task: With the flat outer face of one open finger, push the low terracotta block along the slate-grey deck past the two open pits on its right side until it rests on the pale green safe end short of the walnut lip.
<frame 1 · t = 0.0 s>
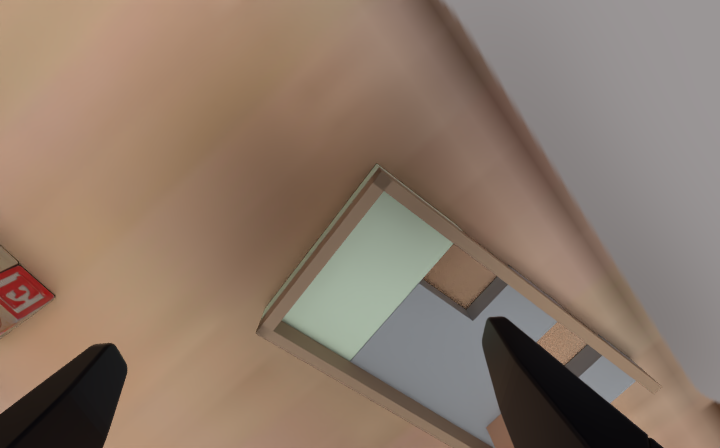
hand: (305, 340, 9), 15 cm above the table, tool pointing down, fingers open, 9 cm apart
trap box: (457, 335, 27), on the table
terracotta block: (534, 423, 28), point 1 cm above the table, touching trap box
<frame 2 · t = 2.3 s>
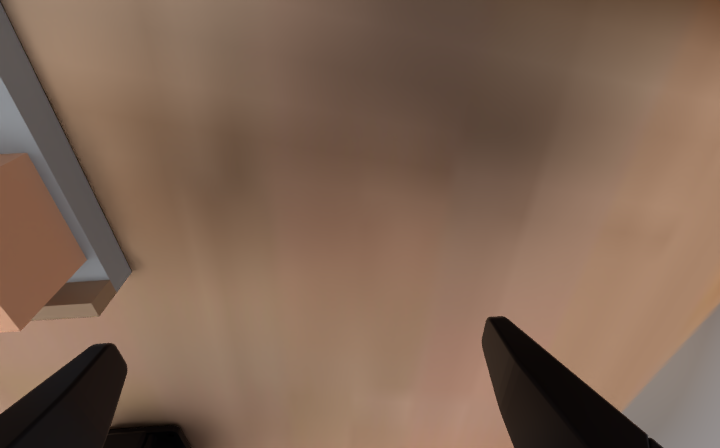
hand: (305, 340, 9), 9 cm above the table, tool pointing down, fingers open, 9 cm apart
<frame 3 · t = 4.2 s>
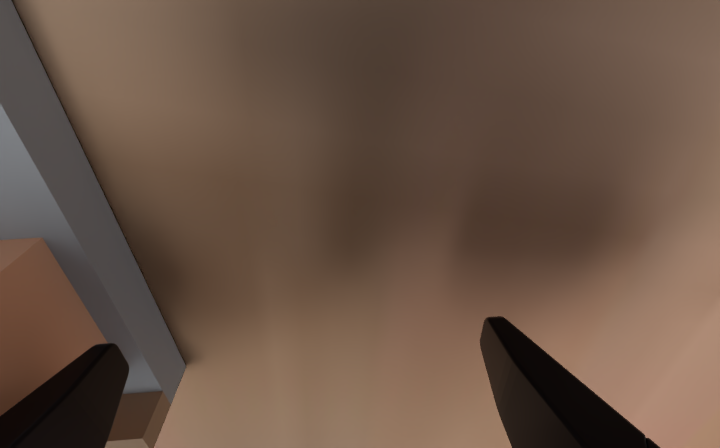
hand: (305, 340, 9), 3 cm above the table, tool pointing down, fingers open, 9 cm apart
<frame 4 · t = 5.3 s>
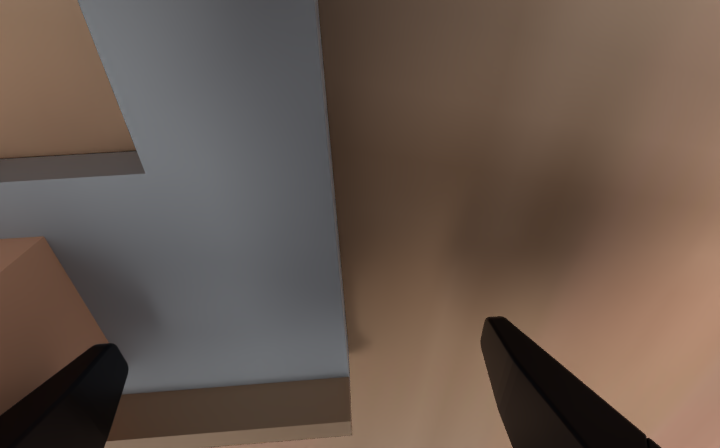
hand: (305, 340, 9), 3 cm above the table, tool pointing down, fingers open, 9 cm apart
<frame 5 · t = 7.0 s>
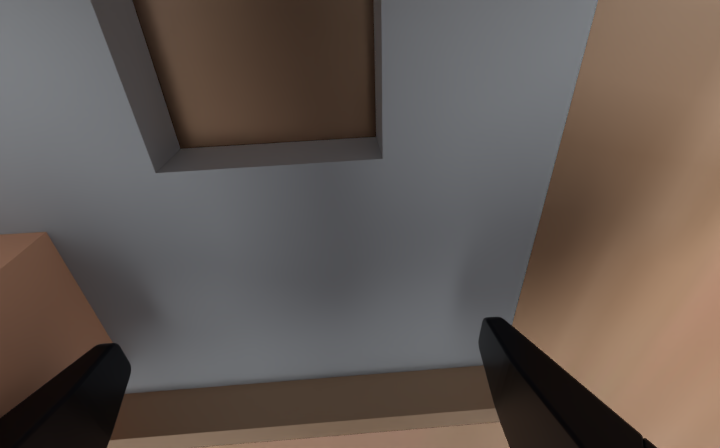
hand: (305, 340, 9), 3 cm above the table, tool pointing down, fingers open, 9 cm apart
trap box: (58, 225, 10), on the table
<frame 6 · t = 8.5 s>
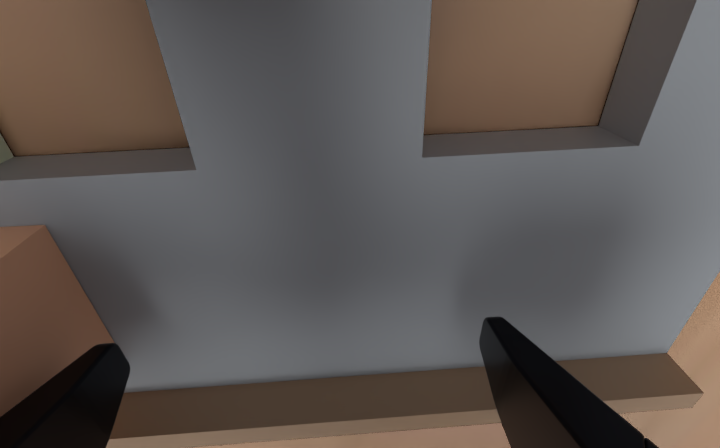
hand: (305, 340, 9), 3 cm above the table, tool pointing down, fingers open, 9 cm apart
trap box: (268, 211, 10), on the table
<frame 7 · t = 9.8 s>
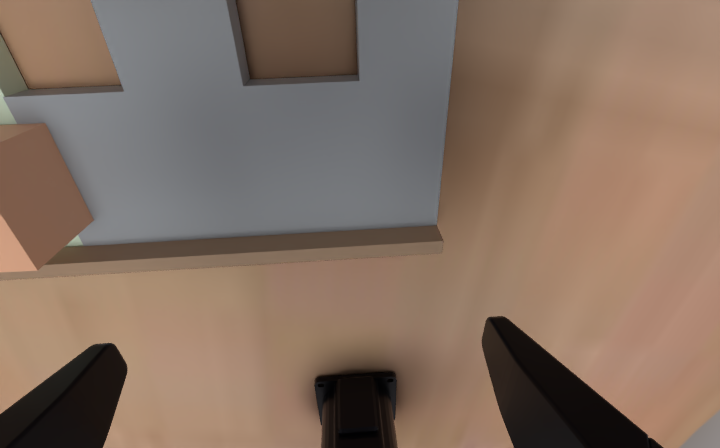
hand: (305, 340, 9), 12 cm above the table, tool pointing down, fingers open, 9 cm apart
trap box: (175, 126, 18), on the table
terracotta block: (7, 178, 17), point 1 cm above the table, touching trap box
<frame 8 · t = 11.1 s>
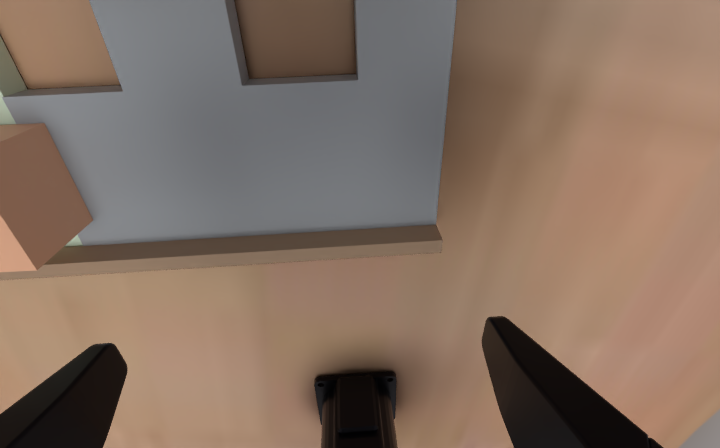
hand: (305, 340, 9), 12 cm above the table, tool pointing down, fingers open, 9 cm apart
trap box: (174, 126, 18), on the table
terracotta block: (6, 178, 17), point 1 cm above the table, touching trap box
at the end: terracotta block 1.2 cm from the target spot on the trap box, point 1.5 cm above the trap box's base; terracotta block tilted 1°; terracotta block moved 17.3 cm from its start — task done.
